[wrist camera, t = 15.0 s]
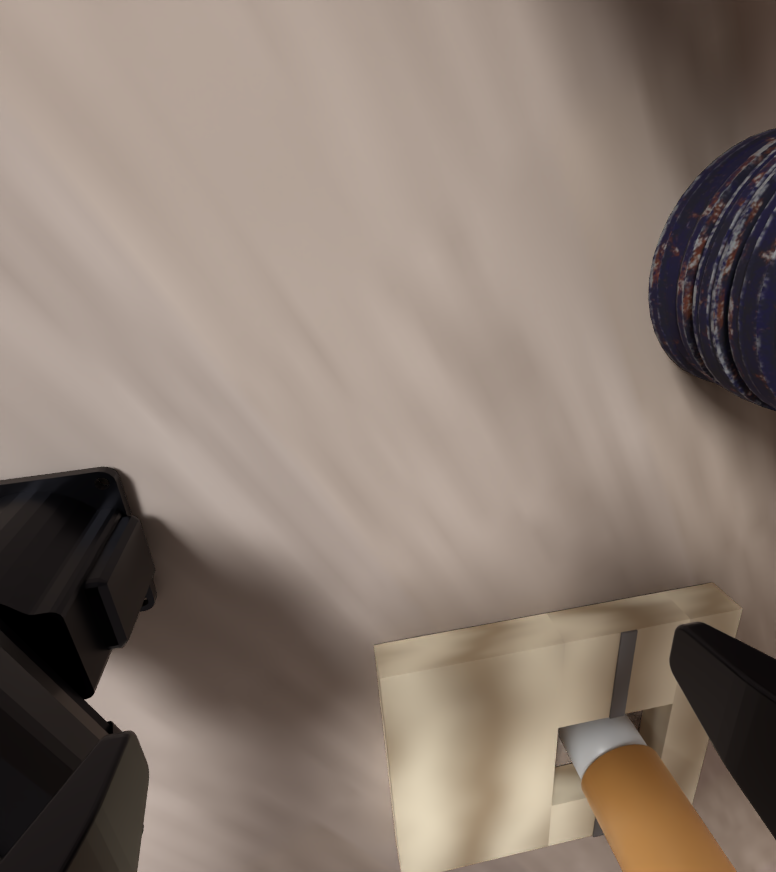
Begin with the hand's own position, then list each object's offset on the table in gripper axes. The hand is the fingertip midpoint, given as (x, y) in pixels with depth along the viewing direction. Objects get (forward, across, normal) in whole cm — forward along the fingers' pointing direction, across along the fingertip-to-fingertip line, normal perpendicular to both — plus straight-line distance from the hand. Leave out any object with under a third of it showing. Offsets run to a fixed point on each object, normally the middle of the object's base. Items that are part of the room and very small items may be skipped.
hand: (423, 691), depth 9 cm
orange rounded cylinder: (+13, -12, +21) cm, 27 cm away
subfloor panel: (+13, -9, +20) cm, 25 cm away
